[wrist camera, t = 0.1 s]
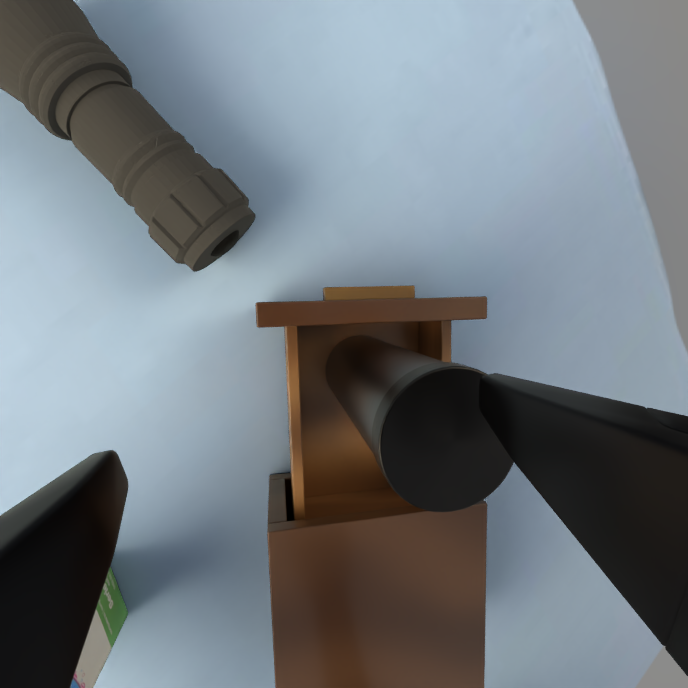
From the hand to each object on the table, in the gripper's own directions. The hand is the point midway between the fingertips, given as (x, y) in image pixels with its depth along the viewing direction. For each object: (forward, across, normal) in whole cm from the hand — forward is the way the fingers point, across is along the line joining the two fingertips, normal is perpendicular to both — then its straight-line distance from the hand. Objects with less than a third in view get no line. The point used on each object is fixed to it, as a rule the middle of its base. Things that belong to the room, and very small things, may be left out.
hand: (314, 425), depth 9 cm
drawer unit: (+11, -2, +19) cm, 22 cm away
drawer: (+14, -4, +7) cm, 16 cm away
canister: (+13, -4, +5) cm, 15 cm away
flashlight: (+18, +7, -9) cm, 22 cm away
